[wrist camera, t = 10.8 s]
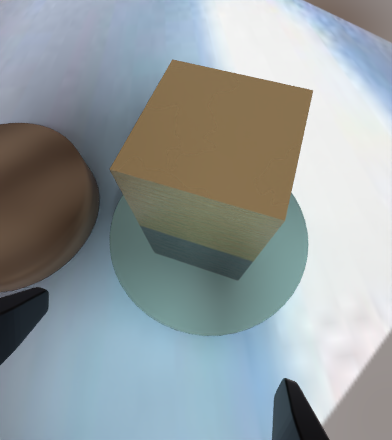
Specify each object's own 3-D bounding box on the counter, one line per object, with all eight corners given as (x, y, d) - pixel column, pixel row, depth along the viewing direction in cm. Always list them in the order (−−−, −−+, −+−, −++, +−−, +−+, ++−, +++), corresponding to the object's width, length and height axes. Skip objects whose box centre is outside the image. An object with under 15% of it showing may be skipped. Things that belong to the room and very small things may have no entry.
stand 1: (127, 229, 20) (116, 212, 17) (-44, 331, 17) (-90, 331, 14) (62, 126, 24) (45, 100, 22) (-82, 193, 21) (-123, 173, 19)
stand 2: (329, 263, 19) (351, 251, 16) (183, 380, 16) (180, 390, 13) (223, 148, 23) (226, 124, 20) (93, 223, 20) (77, 206, 17)
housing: (238, 280, 15) (285, 220, 7) (154, 252, 16) (109, 169, 8) (258, 204, 17) (313, 90, 9) (183, 182, 18) (172, 59, 10)
